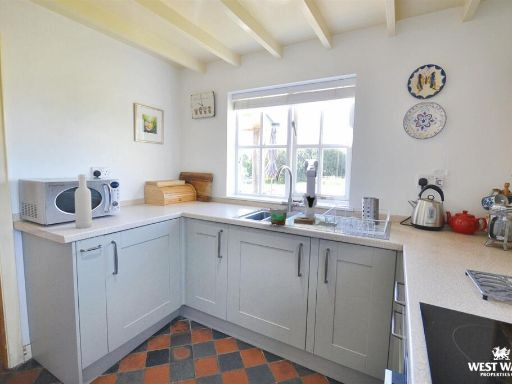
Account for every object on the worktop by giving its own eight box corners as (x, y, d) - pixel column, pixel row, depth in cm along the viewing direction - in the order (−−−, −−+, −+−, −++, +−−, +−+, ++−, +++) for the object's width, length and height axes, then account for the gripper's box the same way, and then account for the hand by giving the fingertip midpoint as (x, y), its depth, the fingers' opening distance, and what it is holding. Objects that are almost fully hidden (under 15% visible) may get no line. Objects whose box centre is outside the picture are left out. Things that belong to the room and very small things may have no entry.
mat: (319, 221, 181) (319, 220, 181) (337, 222, 177) (337, 222, 177) (317, 224, 168) (317, 224, 168) (336, 226, 164) (336, 226, 164)
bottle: (74, 226, 149) (72, 174, 146) (89, 224, 154) (88, 174, 152) (77, 229, 143) (75, 174, 141) (94, 227, 149) (92, 174, 147)
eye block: (297, 220, 184) (297, 216, 183) (314, 221, 179) (315, 217, 179) (293, 222, 172) (294, 219, 172) (312, 224, 168) (312, 220, 168)
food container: (265, 224, 167) (266, 208, 166) (269, 222, 172) (270, 207, 171) (283, 226, 161) (284, 210, 160) (287, 224, 166) (287, 209, 166)
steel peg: (306, 212, 176) (306, 201, 176) (312, 213, 176) (312, 201, 175) (306, 213, 173) (307, 201, 173) (312, 213, 173) (313, 201, 172)
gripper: (303, 186, 181) (303, 205, 182) (305, 187, 166) (305, 208, 167) (314, 186, 180) (313, 205, 181) (317, 187, 166) (316, 208, 167)
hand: (310, 207), depth 174 cm, fingers closed on steel peg, 3 cm apart
